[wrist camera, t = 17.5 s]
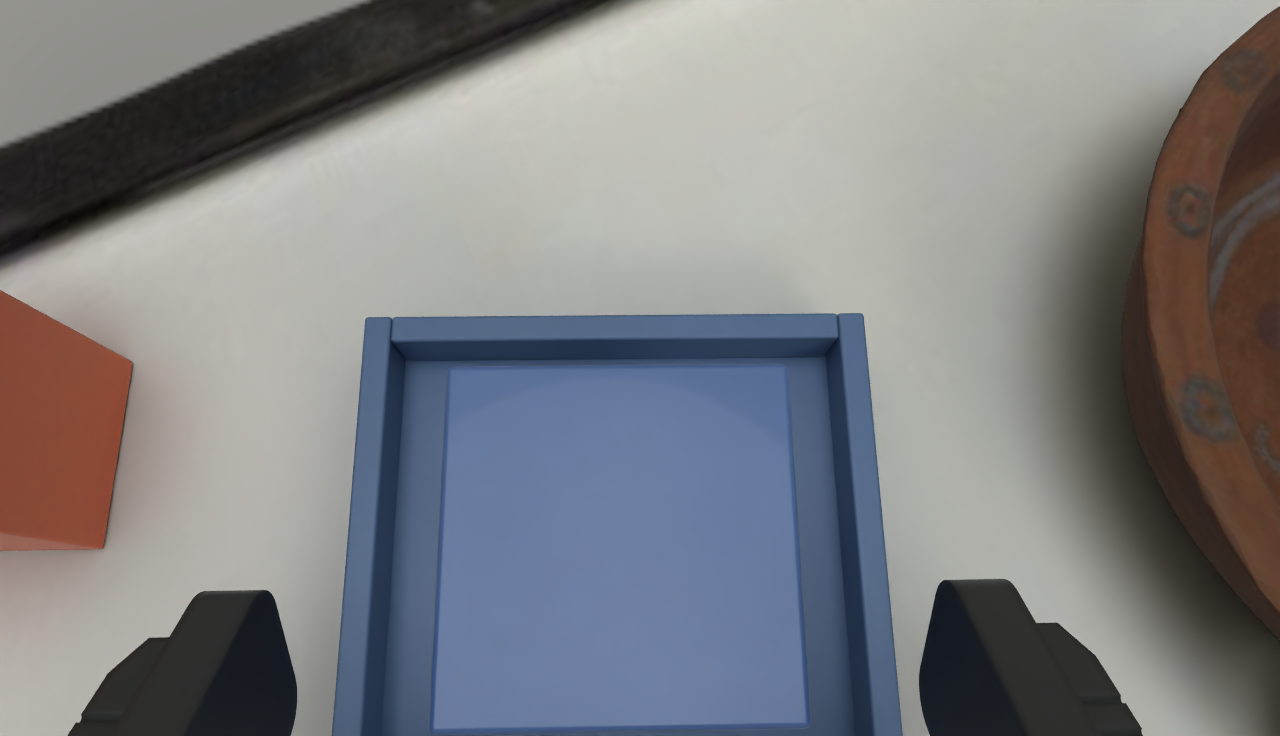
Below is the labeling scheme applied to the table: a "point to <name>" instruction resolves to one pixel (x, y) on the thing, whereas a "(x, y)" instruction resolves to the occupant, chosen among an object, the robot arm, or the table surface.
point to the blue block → (618, 552)
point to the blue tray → (428, 346)
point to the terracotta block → (56, 431)
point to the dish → (1216, 319)
